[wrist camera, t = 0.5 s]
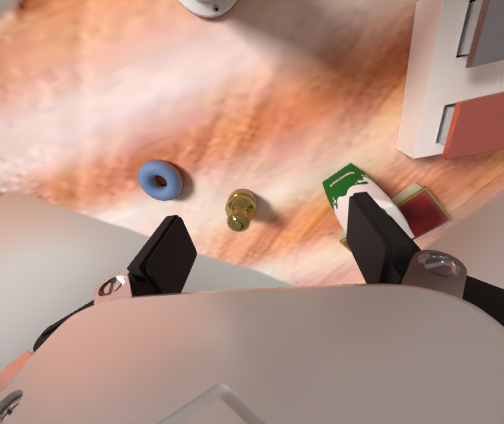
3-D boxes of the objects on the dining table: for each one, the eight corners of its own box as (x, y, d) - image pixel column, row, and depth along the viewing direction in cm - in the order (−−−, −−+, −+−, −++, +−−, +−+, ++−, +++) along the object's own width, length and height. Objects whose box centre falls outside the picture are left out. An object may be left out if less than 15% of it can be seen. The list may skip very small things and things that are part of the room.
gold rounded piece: (255, 186, 48) (252, 209, 40) (259, 212, 52) (257, 238, 44) (225, 189, 49) (216, 212, 41) (231, 214, 53) (224, 240, 45)
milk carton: (352, 157, 43) (404, 206, 26) (372, 186, 46) (430, 247, 29) (316, 182, 46) (342, 239, 30) (337, 207, 50) (371, 272, 33)
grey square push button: (450, -3, 27) (496, -24, 21) (525, -26, 25) (595, -55, 20) (436, 69, 31) (471, 67, 25) (499, 53, 29) (551, 47, 24)
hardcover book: (440, 210, 49) (453, 220, 45) (361, 255, 58) (367, 266, 55) (415, 178, 45) (427, 187, 41) (335, 232, 54) (340, 242, 51)
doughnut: (152, 147, 45) (142, 156, 41) (192, 174, 48) (186, 184, 44) (139, 178, 50) (128, 188, 47) (176, 199, 53) (169, 210, 50)
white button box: (416, 1, 30) (446, -14, 25) (515, -29, 28) (569, -53, 23) (396, 149, 41) (413, 158, 36) (465, 135, 39) (493, 144, 34)
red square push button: (430, 98, 33) (461, 102, 27) (488, 85, 31) (534, 86, 26) (420, 147, 37) (446, 159, 32) (471, 137, 36) (508, 148, 30)
